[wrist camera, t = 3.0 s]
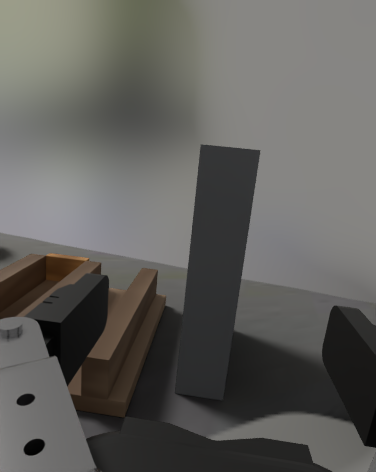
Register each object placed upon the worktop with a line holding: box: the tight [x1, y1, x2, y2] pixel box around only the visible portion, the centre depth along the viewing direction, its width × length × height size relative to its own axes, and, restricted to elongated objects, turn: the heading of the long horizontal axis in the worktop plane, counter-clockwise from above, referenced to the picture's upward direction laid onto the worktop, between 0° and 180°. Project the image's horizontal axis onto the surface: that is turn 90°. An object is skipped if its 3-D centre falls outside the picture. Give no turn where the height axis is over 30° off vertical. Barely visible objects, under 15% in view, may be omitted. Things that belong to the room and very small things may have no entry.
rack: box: [0, 253, 166, 417], centre depth 25 cm, size 20×15×4 cm
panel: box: [175, 145, 260, 401], centre depth 23 cm, size 3×9×15 cm, turn 175°
